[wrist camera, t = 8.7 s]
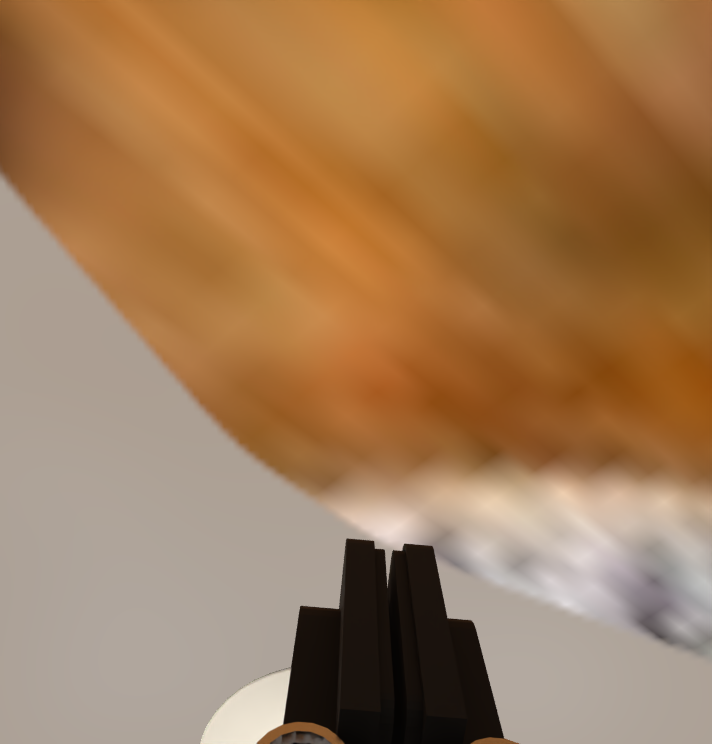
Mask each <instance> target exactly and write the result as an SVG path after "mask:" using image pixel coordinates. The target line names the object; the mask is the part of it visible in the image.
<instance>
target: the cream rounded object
mask: <svg viewBox="0 0 712 744" xmlns="http://www.w3.org/2000/svg"><path fill="white" fill-rule="evenodd" d="M290 672H291V668H286V669H283V670H280V671H276V672H273V673H270V674H268V675H265V676H263V677H261V678H258V679H256V680H254V681H252V682H251V683H249V684H247V685H246V686H244V687H242V688H241V689H239V690H238V691H237V692H236V693H234V694H233V695H232V696H230V697H229V698H228V699H227V700H226V701H225V702H224V703H223V704H222V705H221V706H220V707H219V708H218V710H217V711H216V712H215V714H214V715H213V717H212V718H211V720H210V721H209V723H208V725H207V727H206V729H205V731H204V734H203V736H202V740H201V743H200V744H257V742H258V741H259V740H260V739H261V738H262V737H263V736H264V735H266V734H267V733H268V732H269V731H271V730H273V729H275V728H277V727H279V726H281V725H283V721H284V714H285V707H286V700H287V693H288V686H289V679H290Z"/></svg>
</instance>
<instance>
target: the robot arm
mask: <svg viewBox="0 0 712 744" xmlns="http://www.w3.org/2000/svg"><path fill="white" fill-rule="evenodd" d="M340 595H341V596H340V605H339V609H331V608H319V607H308V606H300V611H299V618H298V625H297V631H296V638H295V645H294V652H293V659H292V666H291V672H290V679H289V686H288V693H287V700H286V707H285V714H284V721H283V725H281V726H279V727H277V728H275V729H273V730H271V731H269V732H268V733H267V734H266V735H264V736H263V737H262V738H261V739H260V740H259V741H258V742H257V744H519V743H515V742H513V741H510V740H507V739H504V736H503V732H502V728H501V724H500V721H499V717H498V713H497V709H496V705H495V701H494V697H493V693H492V690H491V686H490V682H489V678H488V674H487V670H486V667H485V663H484V659H483V655H482V651H481V647H480V643H479V640H478V636H477V632H476V629H475V626H474V623H473V622H472V621H471V620H461V619H460V620H459V619H449V618H447V614H446V609H445V604H444V599H443V594H442V589H441V585H440V579H439V574H438V569H437V564H436V559H435V554H434V549H433V547H432V546H426V545H414V544H404V546H403V550H402V551H395V550H393V552H392V557H391V565H390V573H389V580H388V588H387V576H386V561H385V550H384V549H375V545H374V541H369V540H357V539H346V546H345V556H344V565H343V575H342V585H341V594H340Z"/></svg>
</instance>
